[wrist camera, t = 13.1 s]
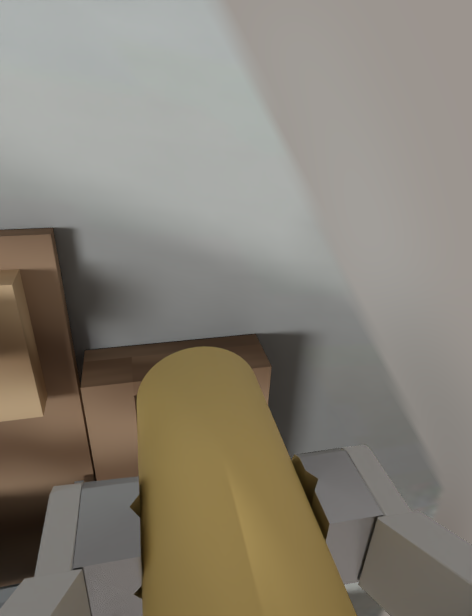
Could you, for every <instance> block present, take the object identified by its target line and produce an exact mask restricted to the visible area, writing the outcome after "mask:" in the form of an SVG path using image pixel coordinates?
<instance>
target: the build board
mask: <svg viewBox="0 0 472 616" xmlns="http://www.w3.org/2000/svg"><path fill="white" fill-rule="evenodd" d="M203 346H206V347H217V348H222V349H225V350H228V351H231V352H233V353H235V354H237V355H238V356H240V357H241V358H243V359H244V360H245V361H246V362H247V363H248V364H249V365H250V367H251V368H252V370H253V372H254V374H255V376H256V379H257V381H258V383H259V386H260V388H261V390H262V393H263V395H264V397H265V400H266V402H267V404H268V399H269V388H270V377H271V367H272V366H271V364H270V362H269V360H268V358H267V356H266V354H265V352H264V350H263V348H262V346H261V344H260V342H259V340H258V338H257V336H256V334H251V335H240V336H230V337H219V338H209V339H199V340H188V341H178V342H167V343H157V344H146V345H136V346H125V347H115V348H104V349H94V350H85V353H84V362H83V371H82V379H81V394H82V400H83V405H84V411H85V417H86V422H87V428H88V434H89V439H90V445H91V451H92V457H93V462H94V468H95V474H96V479H97V481H100V480H109V479H118V478H127V477H136V476H139V470H138V435H137V393H138V389H139V386H140V384H141V382H142V380H143V379H144V377H145V375H146V374H147V373H148V372H149V370H150V369H151V368H152V367H153V366H154V365H156V364H157V363H158V362H159V361H161V360H162V359H164V358H165V357H167V356H169V355H171V354H173V353H175V352H178V351H181V350H184V349H187V348H193V347H203Z"/></svg>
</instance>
